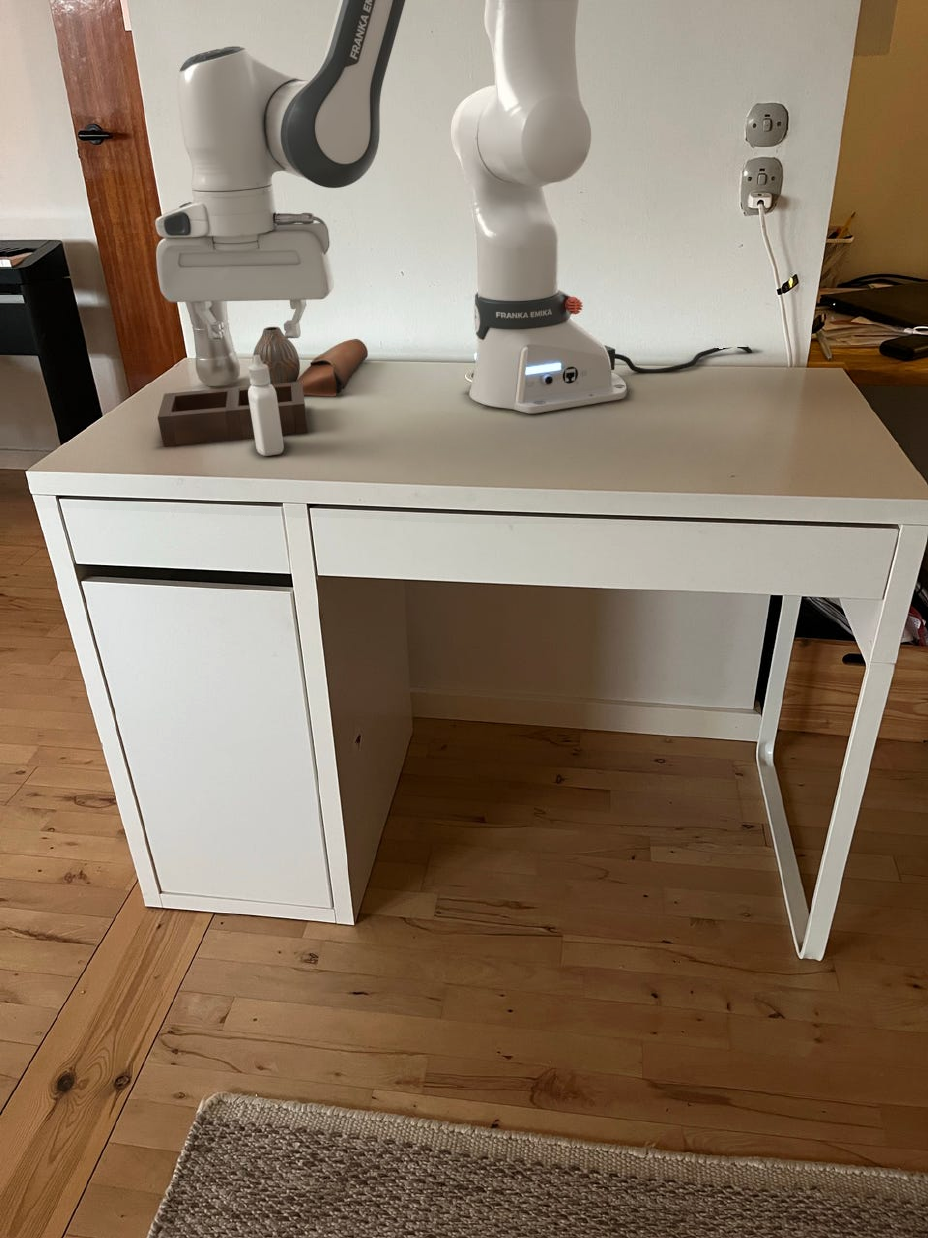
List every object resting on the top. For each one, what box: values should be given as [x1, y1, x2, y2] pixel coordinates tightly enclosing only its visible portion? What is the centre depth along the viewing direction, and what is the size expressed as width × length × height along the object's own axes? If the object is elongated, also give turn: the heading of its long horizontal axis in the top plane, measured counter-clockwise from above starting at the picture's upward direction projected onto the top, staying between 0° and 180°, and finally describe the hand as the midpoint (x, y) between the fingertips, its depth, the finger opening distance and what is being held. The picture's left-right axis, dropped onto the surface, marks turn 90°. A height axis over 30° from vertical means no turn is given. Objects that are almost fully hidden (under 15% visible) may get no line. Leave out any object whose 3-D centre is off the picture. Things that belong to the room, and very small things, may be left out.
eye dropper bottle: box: [247, 355, 285, 457], centre depth 119 cm, size 4×6×12 cm
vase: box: [252, 326, 301, 384], centre depth 143 cm, size 7×7×9 cm
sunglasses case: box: [296, 338, 369, 398], centre depth 148 cm, size 18×7×7 cm, turn 174°
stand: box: [156, 382, 309, 447], centre depth 129 cm, size 19×10×4 cm, turn 100°
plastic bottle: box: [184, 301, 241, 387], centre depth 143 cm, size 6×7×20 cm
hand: (255, 337), depth 115 cm, fingers open, 8 cm apart
